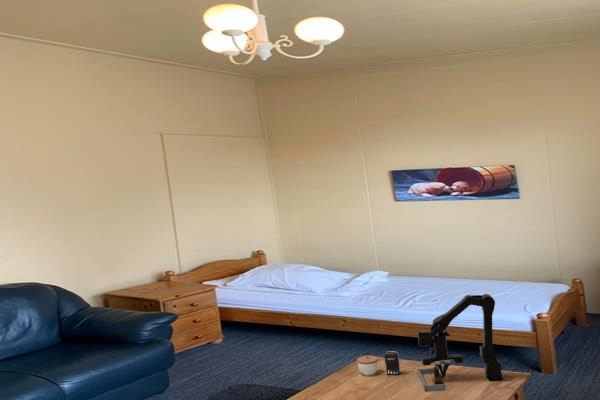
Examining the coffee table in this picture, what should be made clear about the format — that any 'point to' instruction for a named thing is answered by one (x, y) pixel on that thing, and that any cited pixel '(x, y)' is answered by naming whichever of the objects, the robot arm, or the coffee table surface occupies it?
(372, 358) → the lidded jar
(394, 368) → the battery charger
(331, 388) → the coffee table surface
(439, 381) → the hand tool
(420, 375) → the plate
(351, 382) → the coffee table surface
